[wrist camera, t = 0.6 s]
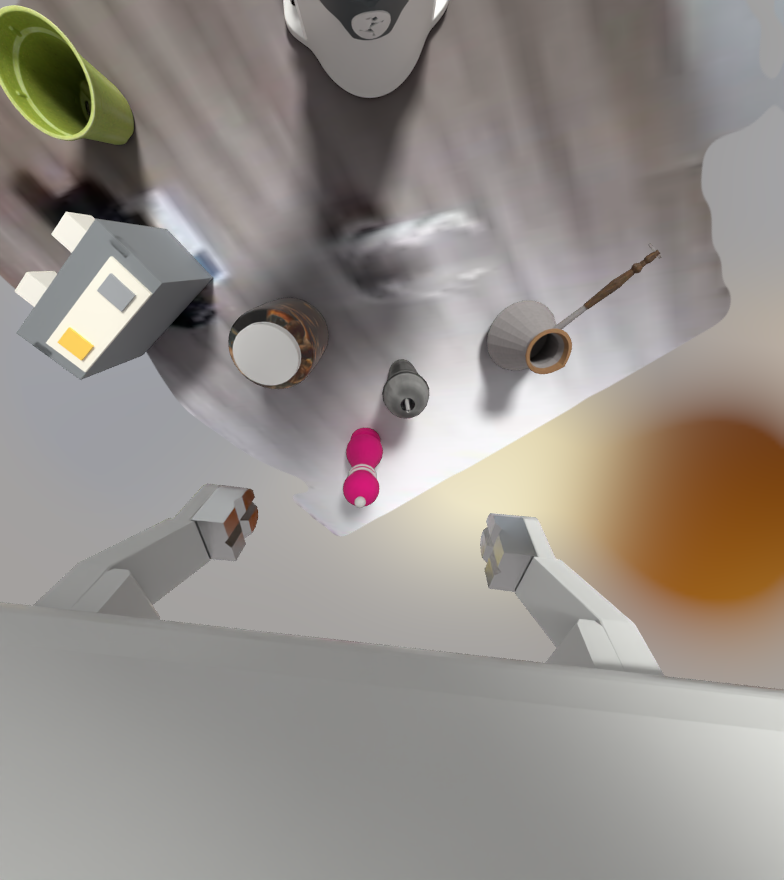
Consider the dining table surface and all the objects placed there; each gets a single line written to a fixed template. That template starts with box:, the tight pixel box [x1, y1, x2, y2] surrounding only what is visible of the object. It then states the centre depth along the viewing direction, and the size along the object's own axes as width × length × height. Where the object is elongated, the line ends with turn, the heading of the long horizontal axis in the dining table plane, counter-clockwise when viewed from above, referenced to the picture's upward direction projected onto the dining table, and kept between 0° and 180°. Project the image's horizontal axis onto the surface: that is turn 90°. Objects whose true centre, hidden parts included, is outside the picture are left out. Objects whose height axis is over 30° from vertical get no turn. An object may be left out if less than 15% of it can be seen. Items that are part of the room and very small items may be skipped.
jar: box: [229, 298, 328, 389], centre depth 46 cm, size 12×12×15 cm
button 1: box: [51, 212, 95, 253], centre depth 38 cm, size 5×4×4 cm
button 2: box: [15, 271, 57, 307], centre depth 41 cm, size 5×4×4 cm
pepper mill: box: [343, 428, 383, 508], centre depth 56 cm, size 7×7×20 cm
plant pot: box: [0, 5, 134, 145], centre depth 35 cm, size 9×9×9 cm
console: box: [17, 219, 213, 380], centre depth 44 cm, size 8×20×14 cm, turn 127°
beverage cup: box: [382, 359, 429, 418], centre depth 48 cm, size 7×7×20 cm
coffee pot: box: [487, 243, 661, 374], centre depth 46 cm, size 21×12×15 cm, turn 144°
